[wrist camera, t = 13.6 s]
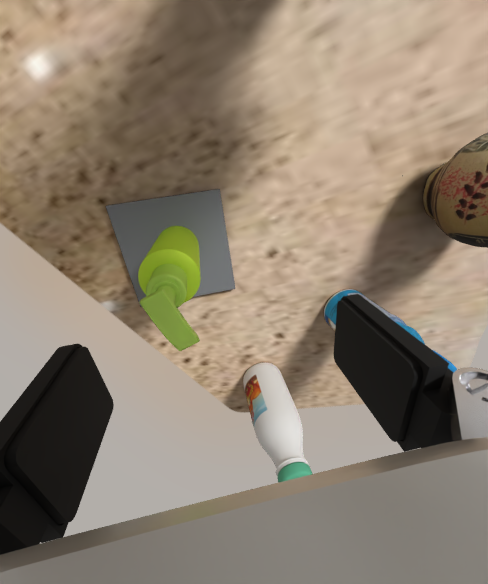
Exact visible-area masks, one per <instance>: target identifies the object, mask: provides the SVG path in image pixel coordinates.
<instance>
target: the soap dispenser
mask: <svg viewBox="0 0 488 584" xmlns="http://www.w3.org/2000/svg"><path fill="white" fill-rule="evenodd" d="M138 280H139V284H140V287H141V289H142V290H143V292H144V293H145V294H146V297H145V298H143V299H141V300H140V304H141V306H142V307H143V309H144V310H145V311H146V313H147V314H148V315H149V317H150V318H151V319H152V321H153V322H154V323H155V325H156V326H157V327H158V329H159V330H160V331H161V332H162V334H163V335H164V336H165V337H166V338H167V339H168V340H169V341H170V342H171V343H172V344H173V345H174V346H175V347H176V348H177V349H178V350H179V351H182V350H184V349H186V348H188V347H190V346H192V345H193V344H195V343H197V342H199V341H200V340H199V338H198V336H197V334H196V333H195V332H194V330H193V329H192V328H191V327H190V325H189V324H188V323H187V321H186V320H185V319H184V317H183V316H182V314H181V313H180V312H179V310H178V309H177V308H178V307H179V306H181V305H182V304H183V303H184V302H186V301H188V300H190V299H191V298H192V297H193V296H194V295H195V294H196V292H197V291H198V288H199V286H200V280H201V277H200V257H199V243H198V240H197V238H196V236H195V235H194V233H193V232H192V231H190V230H189V229H187V228H185V227H182V226H171V227H168V228H166V229H165V230H163V231H162V232H161V234H160V235H159V237H158V238H157V240H156V241H155V243H154V244H153V246H152V248H151V249H150V251H149V252H148V254H147V255H146V257H145V258H144V260H143V262H142V263H141V265H140V268H139V272H138Z"/></svg>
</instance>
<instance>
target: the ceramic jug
mask: <svg viewBox="0 0 488 584" xmlns="http://www.w3.org/2000/svg"><path fill="white" fill-rule="evenodd" d="M402 176H403V175H402ZM423 202H424V207H425V211H426V213H427V214H428V215H429V216H430V217H432V218H433V219H435V221H436V223H437V225H438V227H439V228H440V229H441V230H442V231H443V232H444V233H445V234H447V235H448V236H450V237H451V238H453V239H455V240H457V241H459V242H462V243H465V244H468V245H472V246H477V247H488V133H486V134H483V135H482V136H480V137H478V138H477V139H475V140H473V141H472V142H470V143H469V144H467V145H466V146H464V147H463V148H461V149H460V150H459V151H458V152H457V153H456V154H455V155H454V156H453V157H452V158H451V159H450V160H449V161H448V162H447V163H445V164H443V165H442V166H440V167H439V168H437V169H436V170H435V171H434V172H433V173H432V174H431V175H430V176H429V177H428V179H427V182H426V186H425V190H424V194H423Z"/></svg>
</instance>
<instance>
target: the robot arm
mask: <svg viewBox="0 0 488 584" xmlns="http://www.w3.org/2000/svg"><path fill="white" fill-rule="evenodd" d="M334 359H335V362H336V364H337V365H338V367H339V368H340V370H341V371H342V372H343V374H344V375H345V377H346V378H347V379H348V381H349V382H350V383H351V385H352V386H353V388H354V389H355V390H356V392H357V393H358V395H359V396H360V397H361V399H362V400H363V402H364V403H365V404H366V406H367V407H368V409H369V410H370V411H371V413H372V414H373V415H374V417H375V418H376V420H377V421H378V422H379V424H380V425H381V427H382V428H383V429H384V431H385V432H386V433H387V435H388V436H389V438H390V439H391V440H392V441H394V442H396V441H397V442H398V444H399V445H400V446H401V448H402V449H403V450H404V452H402V453H398V454H394V455H389V456H385V457H381V458H377V459H373V460H369V461H365V462H360V463H356V464H352V465H348V466H344V467H340V468H336V469H332V470H328V471H324V472H320V473H316V474H311V475H307V476H303V477H299V478H295V479H291V480H287V481H283V482H279V483H275V484H271V485H267V486H263V487H259V488H256V489H251V490H247V491H243V492H240V493H235V494H232V495H227V496H223V497H219V498H215V499H212V500H207V501H204V502H200V503H196V504H192V505H188V506H184V507H180V508H176V509H172V510H168V511H164V512H160V513H157V514H152V515H149V516H145V517H141V518H137V519H133V520H129V521H125V522H121V523H118V524H114V525H110V526H106V527H102V528H98V529H94V530H90V531H86V532H82V533H78V534H75V535H71V536H67V537H63V536H64V533H65V530H66V528H67V525H68V522H71V521H72V520H73V518H74V517H75V515H76V513H77V510H78V507H79V504H80V501H81V499H82V496H83V493H84V490H85V487H86V484H87V482H88V479H89V476H90V473H91V470H92V467H93V464H94V462H95V459H96V456H97V453H98V450H99V448H100V445H101V442H102V439H103V436H104V433H105V430H106V427H107V425H108V422H109V419H110V416H111V414H112V410H113V400H112V397H111V395H110V393H109V391H108V389H107V387H106V385H105V383H104V381H103V379H102V377H101V375H100V373H99V371H98V368H97V366H96V365H95V362H94V360H93V358H92V356H91V354H90V352H89V350H88V348H86V347H82V346H81V345H80V344H73V345H68V346H63V347H59V348H58V349H57V350H56V351H55V353H54V354H53V355H52V357H51V358H50V359H49V360H48V362H47V363H46V364H45V365H44V367H43V368H42V369H41V371H40V372H39V373H38V374H37V376H36V377H35V378H34V380H33V381H32V382H31V383H30V385H29V386H28V387H27V389H26V390H25V391H24V392H23V394H22V395H21V396H20V398H19V399H18V400H17V401H16V403H15V404H14V405H13V406H12V408H11V409H10V410H9V411H8V413H7V414H6V415H5V417H4V418H3V419H2V420H1V422H0V584H488V371H487V370H483V369H478V368H461V369H458V370H456V371H455V372H452V371H451V370H450V369H449V368H448V365H449V363H448V362H447V361H445V360H444V359H443V358H442V357H440V356H439V355H438V354H436V353H435V352H434V351H432V350H431V349H430V348H429V347H427V346H426V345H425V344H423V343H422V342H421V341H419V340H418V339H417V338H415V337H414V336H413V335H412V334H410V333H409V332H408V331H406V330H405V329H404V328H402V327H401V326H400V325H399V324H397V323H396V322H395V321H393V320H392V319H391V318H389V317H388V316H387V315H385V314H384V313H383V312H382V311H380V310H379V309H378V308H376V307H375V306H374V305H372V304H371V303H370V302H368V301H367V300H366V299H365V298H363V297H362V296H361V295H359V294H354V295H348V296H343V297H342V299H341V301H338V303H337V315H336V329H335V343H334ZM420 447H421V449H417V448H420ZM413 449H416V450H413ZM409 450H411V451H409ZM405 451H407V452H405ZM59 538H60V539H59ZM55 539H56V540H55ZM51 540H52V541H51ZM47 541H49V542H47ZM40 542H41V543H42V544H39V543H40ZM43 542H45V543H43Z"/></svg>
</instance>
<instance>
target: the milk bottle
mask: <svg viewBox="0 0 488 584" xmlns="http://www.w3.org/2000/svg"><path fill="white" fill-rule="evenodd" d="M243 384H244V389H245V393H246V397H247V402H248V406H249V410H250V414H251V418H252V422H253V426H254V429H255V433H256V436H257V438H258V440H259V443H260V444H261V446H262V447H263V449H264V450H265V451H266V452H267V454H268V455H269V456H270V457H271V459H272V460H273V462H274V464H275V466H276V468H277V470H276V474H277V476H278V482H283V481H287V480H291V479H295V478H299V477H303V476H307V475H311V474H312V472H311V469H310V467H309V466H308V462H307V460H306V459H304V455H303V444H302V443H303V429H302V423H301V420H300V417H299V414H298V411H297V409H296V407H295V404H294V402H293V400H292V397H291V395H290V393H289V390H288V388H287V386H286V383H285V381H284V379H283V377H282V374H281V372H280V370H279V369H278V368H277V367H276V366H275V365H273V364H271V363H267V362H262V363H258V364H255V365H253V366H252V367H250V368H249V369H248V370H247V371H246V373H245V375H244V378H243Z"/></svg>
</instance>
